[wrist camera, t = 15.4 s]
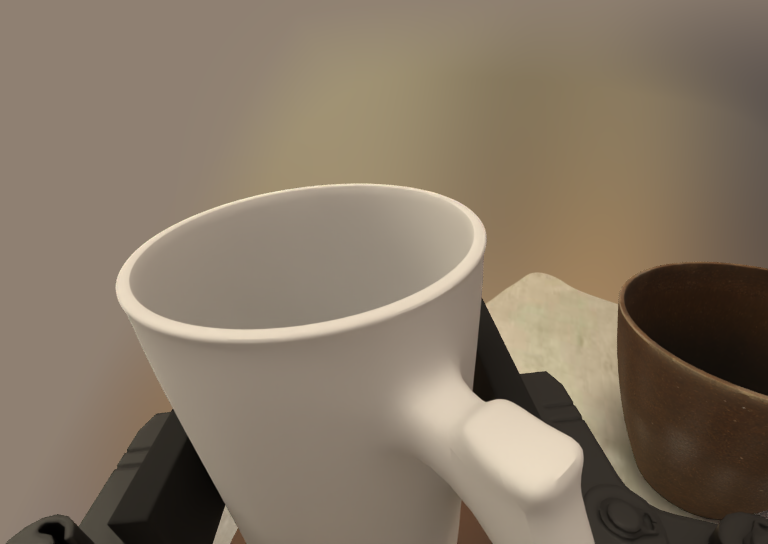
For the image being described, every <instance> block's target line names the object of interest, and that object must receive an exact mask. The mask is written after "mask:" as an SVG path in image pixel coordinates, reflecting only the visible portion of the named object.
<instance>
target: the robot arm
mask: <svg viewBox="0 0 768 544" xmlns="http://www.w3.org/2000/svg"><path fill="white" fill-rule="evenodd" d="M472 392H474V393H475V394H476V395H477V396H478V397H479V398H480V399H481V400H483V401H484V402H489V401H492V400H496V399H504V400H508V401H510V402H513V403H514V404H516V405H518V406H520V407H521V408H523V409H524V410H526V411H527V412H529V413H530V414H532V415H533V416H535V417H536V418H538V419H539V420H541V421H543V422H544V423H546V424H547V425H549V426H551V427H553V428H555V429H556V430H558V431H560V432H562V433H564V434H566V435H568V436H569V437H571V438H573V439H574V440H575V441H576V442H577V443H578V444H579V445H580V446H581V448H582V450H583V457H584V462H583V468H582V474H581V493H582V498H583V502H584V506H585V510H586V514H587V517H588V521H589V524H590V528H591V532H592V535H593V539H594V542H595V544H768V519H766V518H764V517H761V516H759V515H755V514H749V513H744V512H737V513H731V514H727V515H726V516H725V517H724V518H723V519H722V520H721V521H720V523H719V524H715V523H710V522H706V521H702V520H697V519H693V518H688V517H684V516H680V515H675V514H672V513H668V512H665V511H662V510H659V509H658V508H656V507H654V506H652V505H650V504H648V503H647V501H645V500H644V499H643V498H641V497H640V496H638V495H637V494H635V493H634V492H633V491H631V490H630V489H629V488H628V487H627V486H625V484H624V483H623V482H622V480H621V479H620V478H619V476H618V475H617V473H616V471H615V470H614V468H613V467H612V465H611V463H610V462H609V460H608V458H607V457H606V455H605V453H604V452H603V450H602V449H601V447H600V445H599V444H598V442H597V440H596V439H595V437H594V435H593V434H592V432H591V431H590V429H589V427H588V426H587V424H586V422H585V421H584V420H582V416H581V414H580V413H579V411H578V409H577V408H576V406H575V405H573V401H572V400H571V398H570V396H569V395H568V393H567V391H566V390H565V388H564V386H563V385H562V384H561V383H560V382H558V381H557V380H556V379H555V378H554V377H552V376H551V375H550V374H549V373H548V372H546V371H544V372H535V373H525V374H519V372H518V370H517V368H516V366H515V364H514V362H513V360H512V358H511V356H510V354H509V352H508V350H507V348H506V346H505V344H504V342H503V340H502V338H501V336H500V333H499V331H498V329H497V327H496V325H495V323H494V321H493V319H492V317H491V315H490V313H489V311H488V309H487V307H486V305H485V303H484V301H483V299H482V297H481V309H480V320H479V331H478V341H477V351H476V361H475V371H474V380H473V390H472ZM224 507H225V503H224V501H223V499H222V497H221V496H220V494H219V492H218V490H217V488H216V486H215V485H214V483H213V481H212V479H211V477H210V475H209V474H208V472H207V470H206V468H205V466H204V465H203V463H202V461H201V459H200V457H199V455H198V454H197V452H196V450H195V448H194V446H193V444H192V443H191V441H190V439H189V437H188V435H187V433H186V432H185V430H184V428H183V426H182V424H181V422H180V421H179V419H178V417H177V415H176V413H175V411H174V409H172V411H171V412H167V413H158V414H156V415H155V416H154V417H152V418H151V419H150V420H149V421H148V422H147V423H146V424H145V426H143V427H142V428H141V429H140V430H139V431H138V433H137V435H136V436H135V438H134V439H133V441H132V443H131V444H130V446H129V447H128V449H127V453H125V454H124V455H123V457H122V459H121V460H120V462H119V463H118V465H117V469H115V470H114V471H113V473H112V474H111V476H110V478H109V479H108V481H107V482H106V484H105V485H104V487H103V489H102V490H101V492H100V493H99V495H98V497H97V498H96V500H95V501H94V503H93V504H92V506H91V508H90V509H89V511H88V513H87V514H86V516H85V517H84V519H83V520H82V522H81V524H80V525H79V527H78V526H77V525H76V524H75V523H74V522H73V521H72V520H71V519H70V518H69V517H68V516H64V515H58V514H57V515H53V516H49V517H45V518H42V519H40V520H38V521H36V522H34V523H32V524H31V525H29V526H27V527H25V528H24V529H23V530H22V531H20V532H19V533H17V534H16V535H15V536H14V537H12V538H11V539H10V540H8V541H7V543H6V544H213V541H214V538H215V535H216V532H217V529H218V526H219V522H220V519H221V516H222V513H223V510H224Z"/></svg>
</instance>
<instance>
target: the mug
mask: <svg viewBox="0 0 768 544" xmlns="http://www.w3.org/2000/svg"><path fill="white" fill-rule="evenodd" d="M486 241H487V239H486V231H485V228H484V226H483V224H482V222H481V220H480V219H479V218H478V217H477V216H476V215H475V213H474V212H472V211H471V210H470V209H469V208H467V207H466V206H464V205H463V204H461V203H459V202H457V201H455V200H453V199H451V198H448V197H446V196H443V195H440V194H437V193H433V192H430V191H425V190H421V189H416V188H410V187H404V186H395V185H384V184H334V185H320V186H310V187H303V188H295V189H288V190H282V191H277V192H271V193H266V194H262V195H257V196H253V197H249V198H245V199H241V200H238V201H235V202H231V203H227V204H224V205H221V206H219V207H215V208H212V209H210V210H207V211H204V212H202V213H199V214H197V215H194V216H192V217H190V218H187V219H185V220H183V221H181V222H179V223H177V224H175V225H173V226H171V227H169V228H167V229H166V230H164V231H162V232H160V233H159V234H157V235H156V236H154V237H153V238H151V239H150V240H148V241H147V242H146V243H144V244H143V245H142V246H141V247H139V249H137V250H136V251H135V252H134V253H133V254H132V255H131V256H130V257H129V258H128V260H127V261H126V262H125V264H124V265H123V267H122V268H121V271H120V272H119V275H118V277H117V281H116V295H117V298H118V301H119V303H120V305H121V307H122V308H123V310H124V311H125V312H126V314H127V316H128V318H129V320H130V322H131V324H132V327H133V329H134V331H135V333H136V335H137V338H138V340H139V342H140V344H141V346H142V348H143V350H144V353H145V355H146V357H147V358H148V361H149V362H150V365H151V367H152V369H153V371H154V373H155V375H156V377H157V379H158V381H159V383H160V385H161V386H162V389H163V391H164V392H165V394H166V396H167V398H168V400H169V402H170V403H171V405H172V408H173V409H174V411H175V413H176V415H177V417H178V419H179V421H180V422H181V424H182V426H183V428H184V430H185V432H186V433H187V435H188V437H189V439H190V441H191V443H192V444H193V446H194V448H195V450H196V452H197V454H198V455H199V457H200V459H201V461H202V463H203V465H204V466H205V468H206V470H207V472H208V474H209V475H210V477H211V479H212V481H213V483H214V485H215V486H216V488H217V490H218V492H219V494H220V496H221V497H222V499H223V501H224V503H225V505H226V507H227V508H228V510H229V512H230V514H231V516H232V518H233V519H234V521H235V523H236V525H237V527H238V529H239V530H240V532H241V534H242V536H243V538H244V540H245V542H246V543H247V544H457V539H458V531H459V521H460V509H461V499H462V501H463V502H464V503H465V504H466V505H467V507H468V508H469V509H470V510H471V511H472V513H473V514H474V516H475V517H476V519H477V520H478V522H479V523H480V525H481V526H482V528H483V529H484V531H485V532H486V534H487V536H488V537H489V539H490V540H491V542H492V543H493V544H595V542H594V539H593V535H592V532H591V528H590V524H589V521H588V517H587V514H586V510H585V506H584V502H583V498H582V493H581V474H582V468H583V462H584V457H583V450H582V448H581V446H580V445H579V444H578V443H577V442H576V441H575V440H574V439H573V438H571V437H569V436H568V435H566V434H564V433H562V432H560V431H558V430H556V429H555V428H553V427H551V426H549V425H547V424H546V423H544V422H543V421H541V420H539V419H538V418H536V417H535V416H533V415H532V414H530V413H529V412H527V411H526V410H524V409H523V408H521V407H520V406H518V405H516V404H514V403H513V402H510V401H508V400H504V399H496V400H492V401H489V402H484V401H483V400H481V399H480V398H479V397H478V396H477V395H476V394H475V393H474V392H472V390H473V380H474V371H475V361H476V351H477V341H478V331H479V320H480V309H481V297H482V283H483V260H484V252H485V248H486Z"/></svg>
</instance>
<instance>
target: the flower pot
mask: <svg viewBox="0 0 768 544" xmlns="http://www.w3.org/2000/svg"><path fill="white" fill-rule="evenodd" d="M617 357H618V373H619V384H620V393H621V401H622V408H623V414H624V419H625V424H626V428H627V432H628V436H629V440H630V444H631V448H632V451H633V454H634V458H635V461H636V463H637V466H638V468H639V470H640V472H641V474H642V475H643V477H644V478H645V480H646V481H647V482H648V483H649V484H650V485H651V487H652V488H653V489H654V490H655V491H657V492H658V493H659V494H660V495H661V496H662V497H664V498H665V499H666V500H668V501H669V502H671V503H672V504H674V505H676V506H677V507H679V508H681V509H683V510H685V511H687V512H689V513H692V514H695V515H698V516H701V517H705V518H710V519H718V520H721V519H723V518H724V517H725V516H726V515H727V514H731V513H737V512H744V513H749V514H755V513H759V512H763V511H766V510H768V269H767V268H761V267H755V266H747V265H741V264H731V263H719V262H682V263H673V264H666V265H660V266H656V267H653V268H649V269H646V270H644V271H641V272H639V273H637V274H635V275H634V276H632V277H631V278H630V279H628V280H627V281H626V282H625V283H624V285H623V286H622V288H621V290H620V293H619V304H618V328H617Z"/></svg>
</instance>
